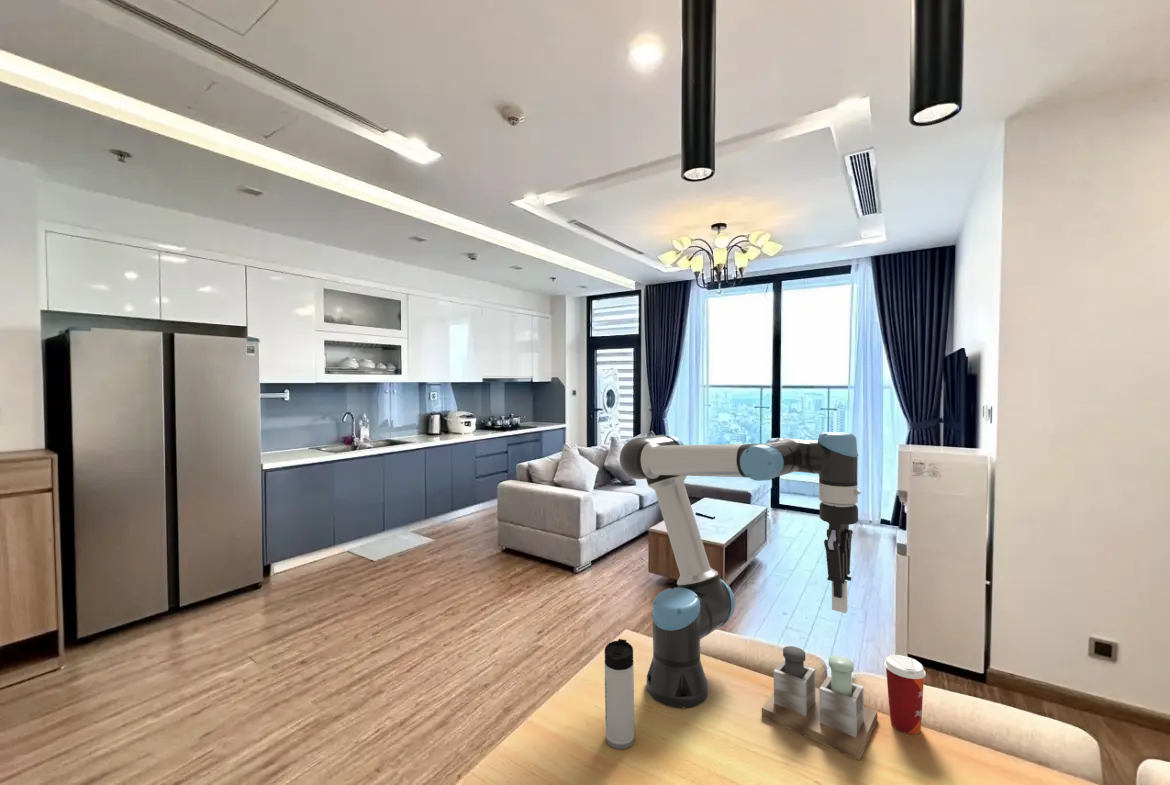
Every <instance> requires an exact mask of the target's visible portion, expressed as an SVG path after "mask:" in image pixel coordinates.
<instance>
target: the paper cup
mask: <svg viewBox="0 0 1170 785" xmlns="http://www.w3.org/2000/svg"><path fill="white" fill-rule="evenodd" d="M883 665H884V667H885V670H886V682H887V686H886V687H887V695H888V696H887V697H888V708H889V709H888V710H889V718H890V719H889V720H890V723H891V725H892V726H893V727H894V728H895V729H896V730H898V731H900V732H901V733H905V734H908V735H918V734H920V733H921V728H922V717H923V716H922V714H923V704H924V703H923V701H924V685H925V684H924V683H925V682H924V681H925V677H926V676H927V674H926V670H924V666H923V664H922V663H921V662H919V661H918V660H917V659H915V658H913V657H909V656H906V655H902V654H891V655H888V656H887V657H886V658H885V661H884V664H883Z"/></svg>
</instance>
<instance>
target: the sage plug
mask: <svg viewBox="0 0 1170 785" xmlns="http://www.w3.org/2000/svg"><path fill="white" fill-rule="evenodd" d="M828 665H829V667H830V675H831V690H832V691H835V692H838V693H840V694H843V695H846V696H848V697H852V683H853V682H852V681H853V677H852V675H853V672H854V666H855V665H854V661H853V660H851V659H850V658H848V657H846V656H842V655H836V654H835V655H830V656H829V657H828Z"/></svg>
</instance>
